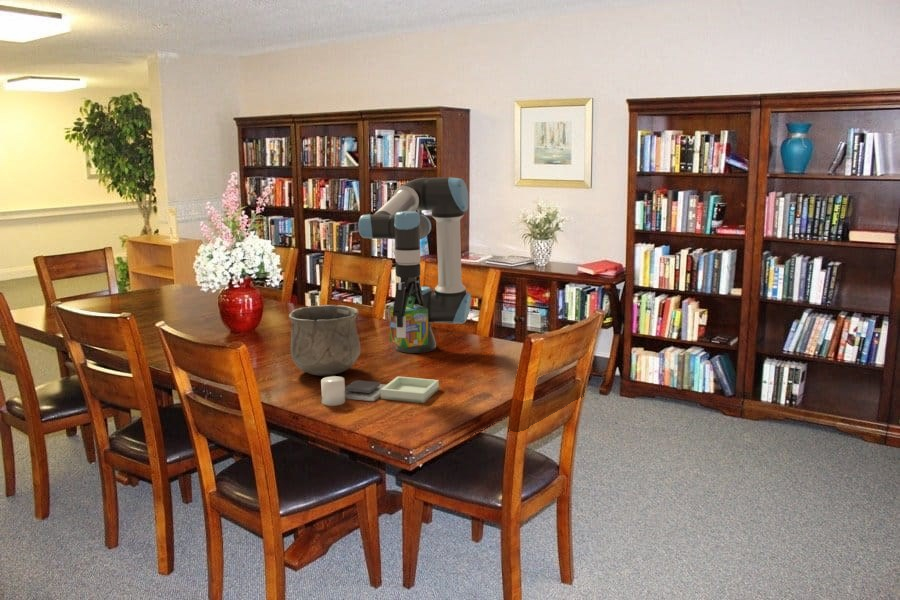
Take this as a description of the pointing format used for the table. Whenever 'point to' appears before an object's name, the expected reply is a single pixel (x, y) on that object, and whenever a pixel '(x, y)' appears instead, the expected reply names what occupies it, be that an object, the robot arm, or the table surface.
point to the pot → (324, 339)
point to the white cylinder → (333, 390)
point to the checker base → (364, 394)
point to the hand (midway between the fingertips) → (409, 332)
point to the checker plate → (362, 386)
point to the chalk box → (411, 326)
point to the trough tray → (410, 389)
